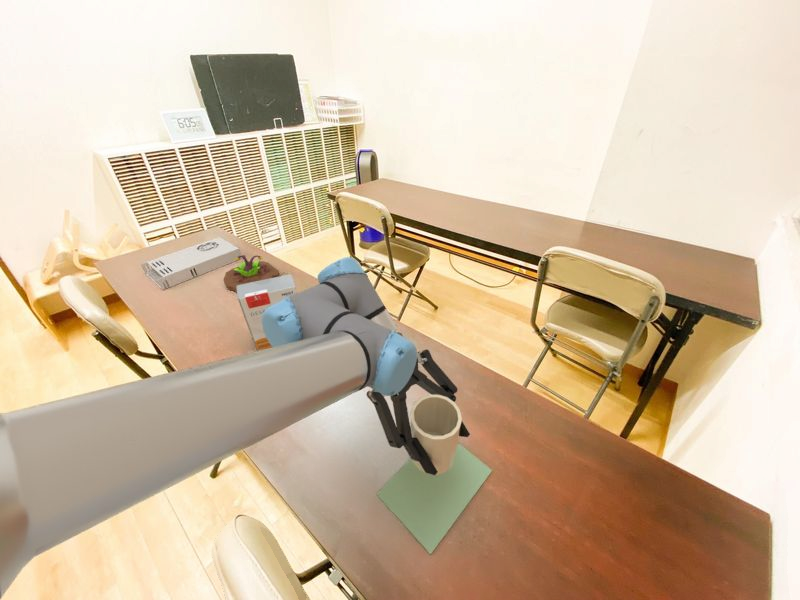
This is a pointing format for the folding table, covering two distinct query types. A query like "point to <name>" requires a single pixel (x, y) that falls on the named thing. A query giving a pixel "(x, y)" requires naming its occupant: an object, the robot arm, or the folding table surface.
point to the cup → (436, 429)
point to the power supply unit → (190, 262)
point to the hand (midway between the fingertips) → (448, 452)
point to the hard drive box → (263, 303)
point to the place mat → (434, 496)
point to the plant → (249, 273)
